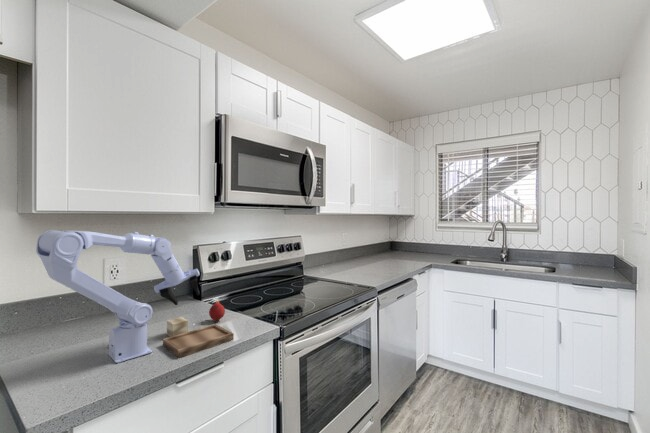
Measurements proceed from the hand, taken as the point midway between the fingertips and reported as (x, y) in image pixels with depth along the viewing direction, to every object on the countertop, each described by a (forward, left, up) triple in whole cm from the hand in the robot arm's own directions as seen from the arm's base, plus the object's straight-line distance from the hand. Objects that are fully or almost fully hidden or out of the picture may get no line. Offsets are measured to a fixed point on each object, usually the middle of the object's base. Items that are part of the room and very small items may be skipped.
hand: (187, 298), depth 109 cm
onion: (+13, +3, -12) cm, 18 cm away
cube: (-3, +1, -12) cm, 13 cm away
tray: (-1, -11, -12) cm, 16 cm away
